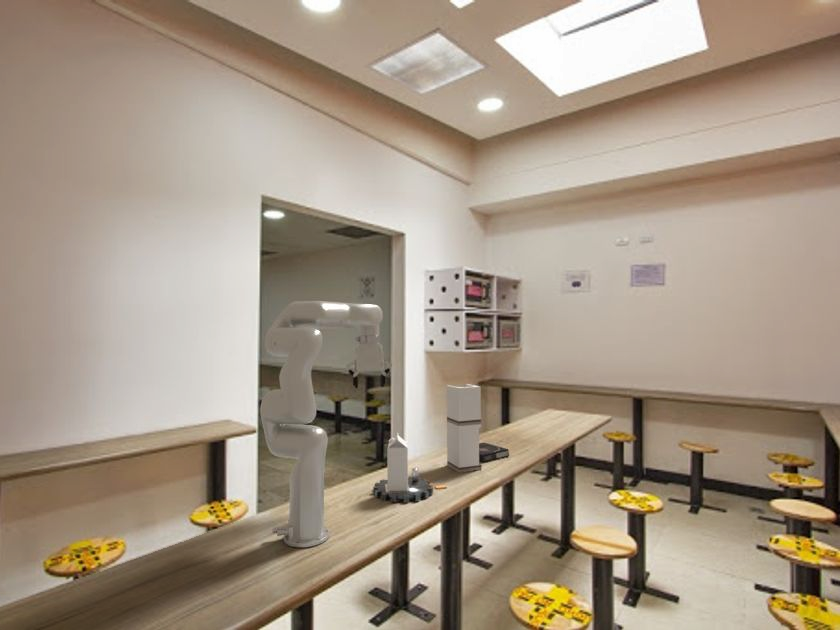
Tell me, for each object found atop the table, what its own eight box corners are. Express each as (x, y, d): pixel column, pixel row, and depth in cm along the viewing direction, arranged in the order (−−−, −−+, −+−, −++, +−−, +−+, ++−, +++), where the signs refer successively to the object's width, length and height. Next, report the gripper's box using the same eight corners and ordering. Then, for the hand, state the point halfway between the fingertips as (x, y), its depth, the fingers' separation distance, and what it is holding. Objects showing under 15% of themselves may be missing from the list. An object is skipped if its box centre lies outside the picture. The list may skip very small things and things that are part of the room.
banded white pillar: (481, 469, 192) (480, 386, 194) (459, 472, 188) (458, 387, 190) (468, 462, 203) (467, 384, 204) (447, 465, 199) (446, 385, 200)
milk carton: (408, 484, 166) (407, 432, 167) (407, 491, 159) (407, 436, 160) (388, 484, 166) (388, 432, 167) (387, 491, 159) (387, 436, 159)
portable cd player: (483, 464, 202) (483, 455, 202) (458, 455, 216) (458, 447, 216) (509, 458, 212) (509, 449, 212) (483, 450, 225) (483, 442, 226)
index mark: (436, 489, 168) (436, 487, 168) (434, 487, 170) (434, 486, 170) (446, 488, 170) (446, 486, 170) (444, 486, 171) (444, 485, 171)
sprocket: (360, 493, 164) (360, 475, 164) (400, 478, 181) (399, 461, 181) (407, 507, 150) (407, 487, 150) (445, 489, 167) (444, 471, 168)
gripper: (347, 340, 161) (347, 389, 160) (394, 340, 166) (394, 387, 165) (344, 340, 168) (344, 387, 167) (389, 340, 173) (389, 385, 172)
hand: (369, 387), depth 166 cm, fingers open, 9 cm apart
